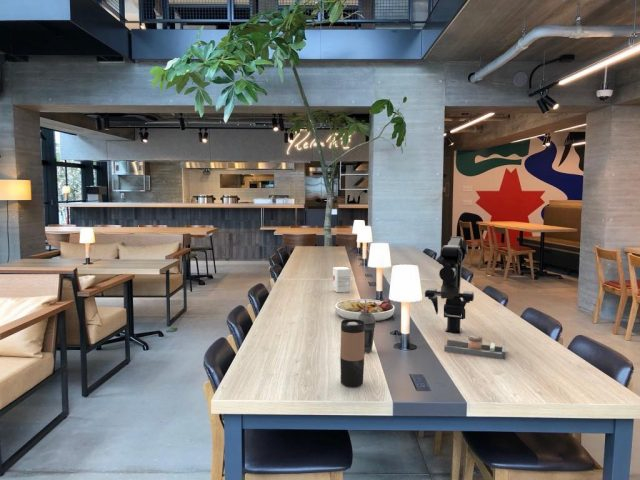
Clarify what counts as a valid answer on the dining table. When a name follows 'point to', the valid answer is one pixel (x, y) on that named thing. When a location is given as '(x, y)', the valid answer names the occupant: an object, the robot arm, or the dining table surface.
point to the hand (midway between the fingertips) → (448, 315)
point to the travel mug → (352, 352)
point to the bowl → (357, 306)
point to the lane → (474, 351)
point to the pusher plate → (492, 347)
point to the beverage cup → (368, 329)
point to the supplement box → (341, 279)
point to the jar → (475, 342)
